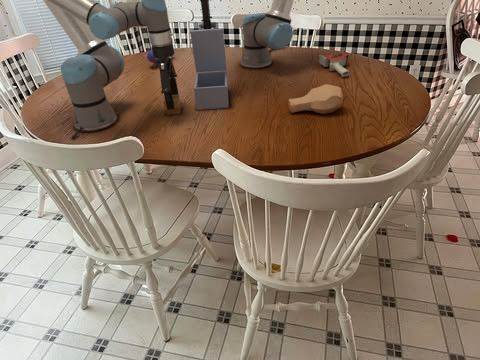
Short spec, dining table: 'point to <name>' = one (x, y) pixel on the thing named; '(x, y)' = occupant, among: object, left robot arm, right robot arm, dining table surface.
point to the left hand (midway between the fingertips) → (173, 101)
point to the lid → (208, 48)
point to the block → (176, 105)
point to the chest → (211, 90)
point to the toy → (152, 58)
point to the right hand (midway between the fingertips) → (208, 37)
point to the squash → (319, 100)
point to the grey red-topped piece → (335, 62)
